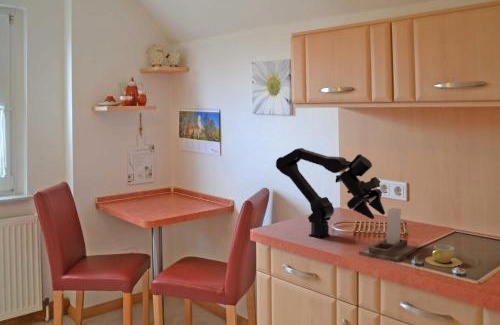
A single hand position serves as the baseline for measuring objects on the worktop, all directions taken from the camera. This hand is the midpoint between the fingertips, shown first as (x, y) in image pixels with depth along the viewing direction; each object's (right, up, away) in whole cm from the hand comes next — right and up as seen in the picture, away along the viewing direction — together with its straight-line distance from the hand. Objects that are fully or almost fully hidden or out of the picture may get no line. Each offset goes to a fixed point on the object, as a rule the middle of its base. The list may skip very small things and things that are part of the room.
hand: (378, 216), depth 191 cm
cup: (+18, -14, -16) cm, 28 cm away
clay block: (+5, -11, -2) cm, 12 cm away
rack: (+2, -13, -5) cm, 14 cm away
